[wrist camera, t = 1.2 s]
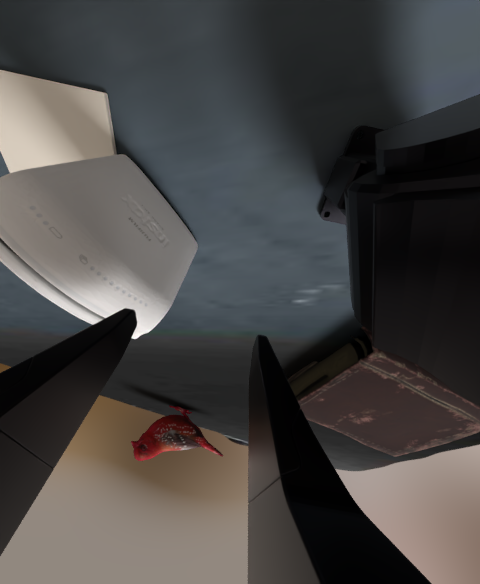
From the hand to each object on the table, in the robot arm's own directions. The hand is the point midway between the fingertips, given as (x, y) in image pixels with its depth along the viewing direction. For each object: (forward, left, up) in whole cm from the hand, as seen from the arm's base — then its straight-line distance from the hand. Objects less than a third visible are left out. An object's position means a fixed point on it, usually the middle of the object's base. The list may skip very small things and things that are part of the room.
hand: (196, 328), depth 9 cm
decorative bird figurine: (+3, +41, -13) cm, 43 cm away
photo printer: (+8, 0, -13) cm, 15 cm away
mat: (+15, 0, -13) cm, 20 cm away
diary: (-26, +21, -14) cm, 37 cm away
